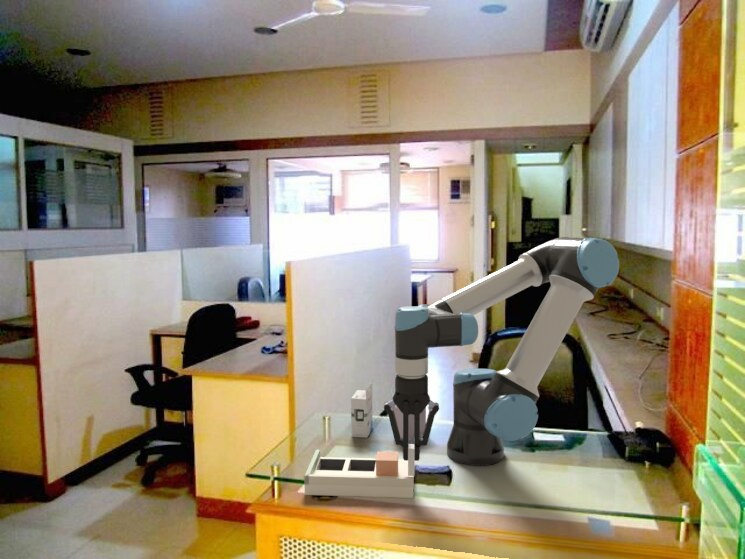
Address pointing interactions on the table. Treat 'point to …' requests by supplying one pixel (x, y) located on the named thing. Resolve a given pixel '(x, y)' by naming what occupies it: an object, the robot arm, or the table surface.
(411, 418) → the electronic device
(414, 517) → the table surface
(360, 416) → the ink box
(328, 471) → the tray
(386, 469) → the terracotta block
